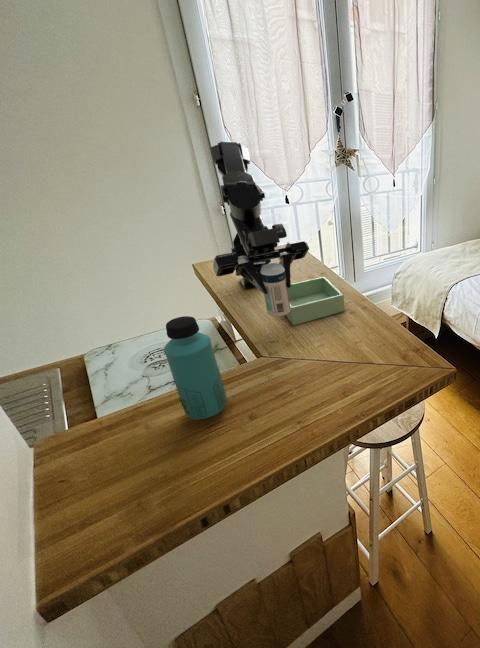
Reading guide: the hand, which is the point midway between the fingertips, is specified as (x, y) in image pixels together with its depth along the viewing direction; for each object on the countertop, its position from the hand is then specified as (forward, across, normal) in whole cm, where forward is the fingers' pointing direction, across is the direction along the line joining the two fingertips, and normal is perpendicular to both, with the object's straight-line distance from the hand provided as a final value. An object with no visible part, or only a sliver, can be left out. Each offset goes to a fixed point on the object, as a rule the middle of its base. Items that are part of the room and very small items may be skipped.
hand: (277, 290), depth 89 cm
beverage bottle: (+20, -20, -2) cm, 28 cm away
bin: (+2, +11, +16) cm, 20 cm away
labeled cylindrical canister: (+4, 0, +6) cm, 7 cm away
